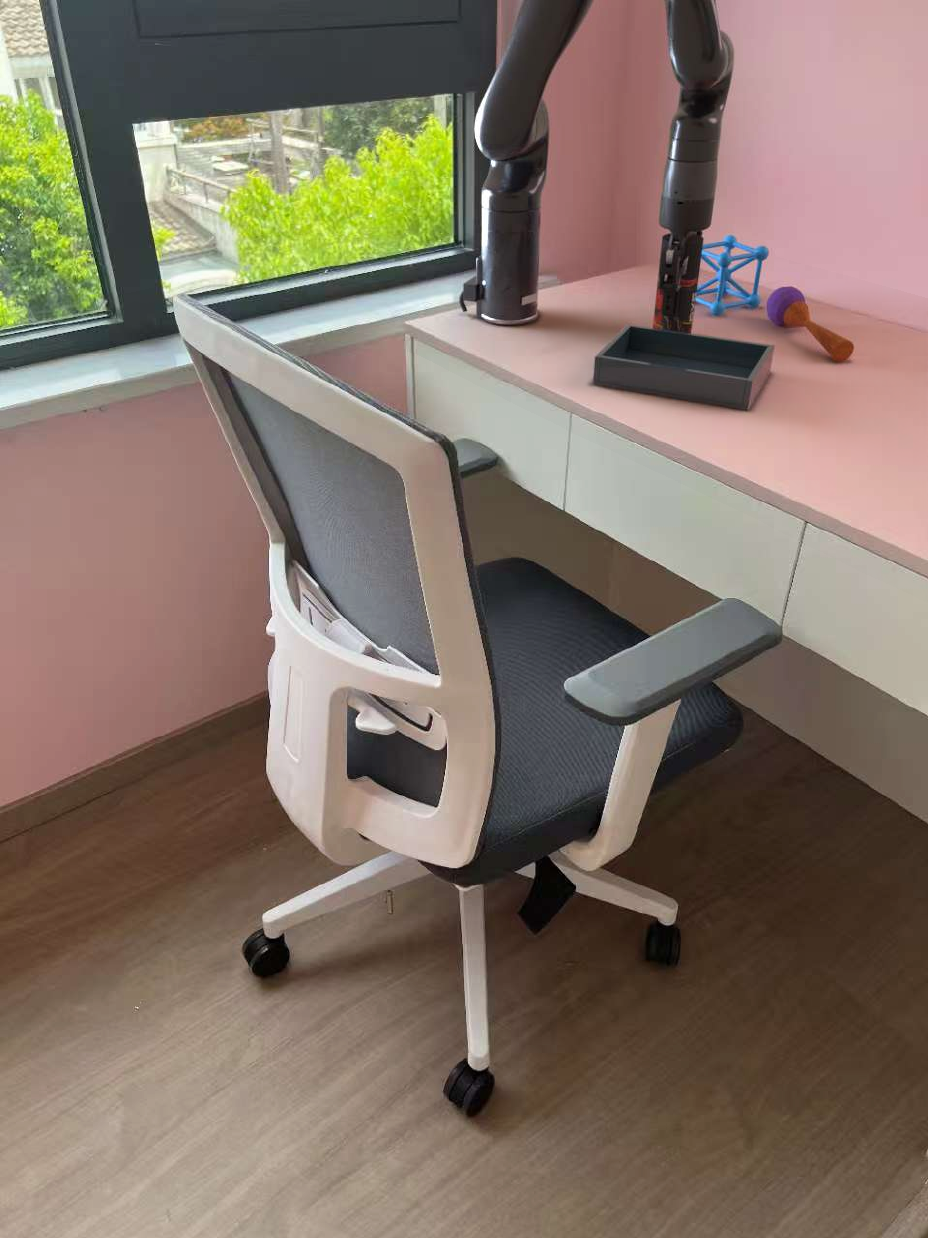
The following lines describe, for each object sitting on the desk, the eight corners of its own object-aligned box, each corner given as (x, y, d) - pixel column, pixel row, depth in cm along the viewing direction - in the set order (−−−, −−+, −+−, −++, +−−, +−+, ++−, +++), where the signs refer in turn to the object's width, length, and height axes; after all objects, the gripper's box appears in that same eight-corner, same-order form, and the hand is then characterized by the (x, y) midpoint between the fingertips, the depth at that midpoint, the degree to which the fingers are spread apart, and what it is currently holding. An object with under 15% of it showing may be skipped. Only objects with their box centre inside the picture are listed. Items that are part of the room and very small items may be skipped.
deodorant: (690, 345, 150) (703, 243, 141) (650, 343, 151) (661, 242, 142) (690, 332, 155) (703, 233, 146) (652, 330, 156) (663, 231, 147)
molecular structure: (677, 301, 167) (684, 240, 161) (723, 292, 171) (731, 232, 165) (715, 318, 160) (724, 255, 154) (762, 308, 164) (773, 246, 158)
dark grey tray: (592, 384, 138) (594, 356, 135) (625, 350, 148) (627, 323, 146) (747, 410, 130) (752, 381, 128) (769, 372, 141) (774, 345, 138)
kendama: (825, 337, 141) (759, 286, 156) (822, 375, 145) (758, 321, 160) (864, 326, 141) (794, 276, 156) (860, 364, 145) (792, 311, 160)
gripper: (676, 179, 147) (663, 292, 157) (648, 199, 136) (636, 320, 146) (726, 183, 144) (710, 298, 154) (701, 204, 134) (686, 326, 143)
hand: (674, 308), depth 150 cm, fingers closed on deodorant, 6 cm apart
